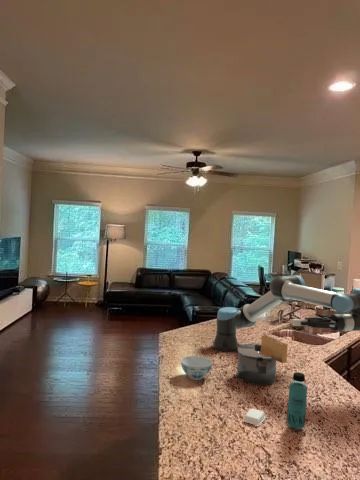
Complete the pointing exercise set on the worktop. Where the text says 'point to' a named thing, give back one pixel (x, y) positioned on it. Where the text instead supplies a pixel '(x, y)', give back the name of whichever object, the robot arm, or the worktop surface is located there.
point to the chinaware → (196, 366)
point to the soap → (254, 416)
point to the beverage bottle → (297, 402)
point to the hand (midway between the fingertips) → (293, 322)
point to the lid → (265, 349)
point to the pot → (256, 370)
